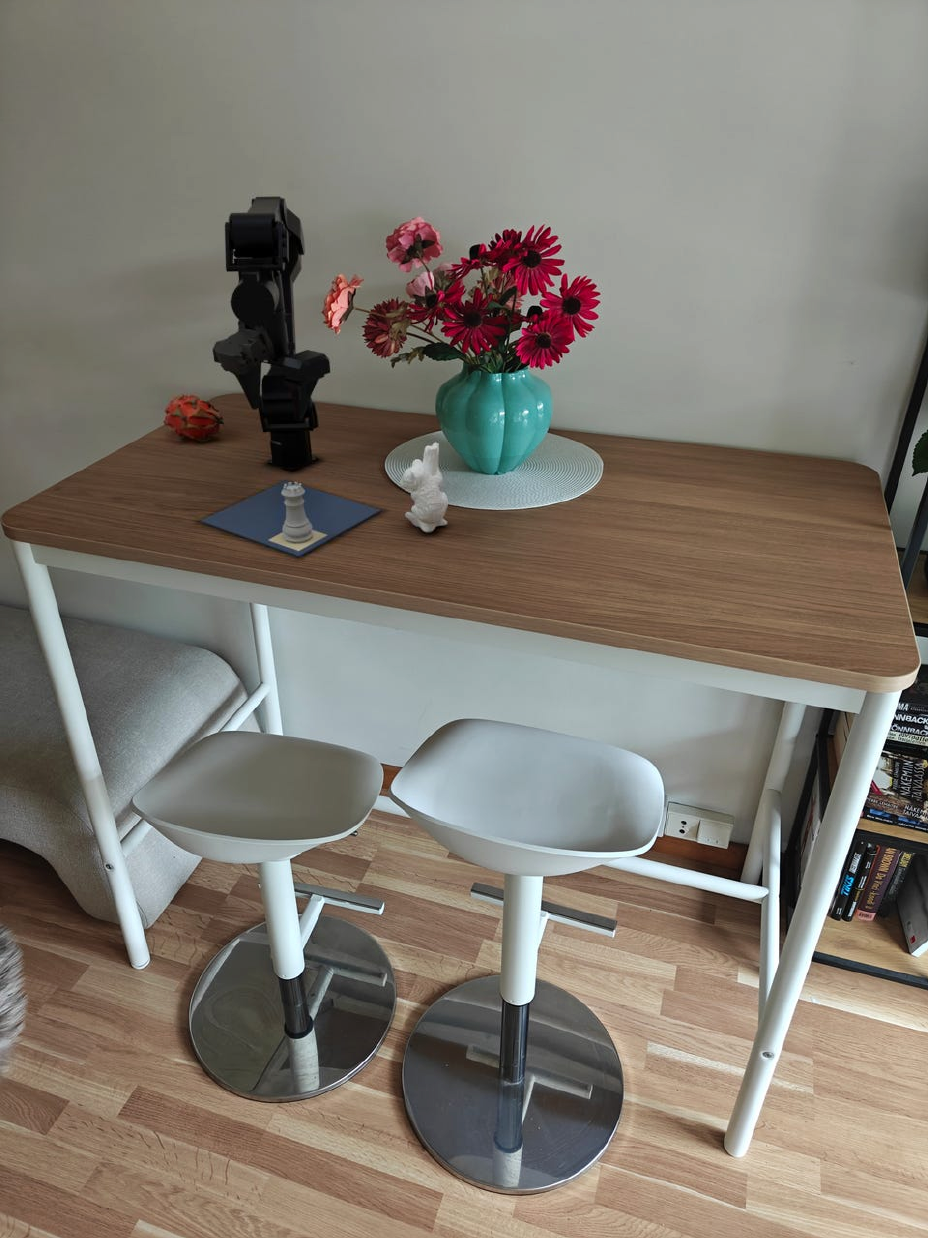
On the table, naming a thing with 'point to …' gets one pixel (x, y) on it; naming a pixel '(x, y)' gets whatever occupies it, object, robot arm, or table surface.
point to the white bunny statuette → (426, 491)
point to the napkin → (268, 514)
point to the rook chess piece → (295, 515)
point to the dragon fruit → (192, 417)
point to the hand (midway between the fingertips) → (277, 414)
